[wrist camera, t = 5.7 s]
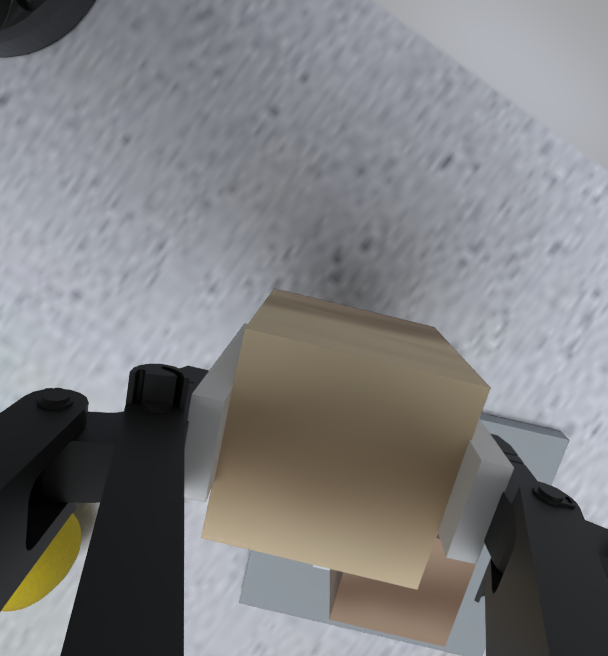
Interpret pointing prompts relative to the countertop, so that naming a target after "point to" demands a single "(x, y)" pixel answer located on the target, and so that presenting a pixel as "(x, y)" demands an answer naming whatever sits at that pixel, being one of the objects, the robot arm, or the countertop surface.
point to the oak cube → (342, 439)
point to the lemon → (49, 567)
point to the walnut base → (404, 600)
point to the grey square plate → (469, 627)
